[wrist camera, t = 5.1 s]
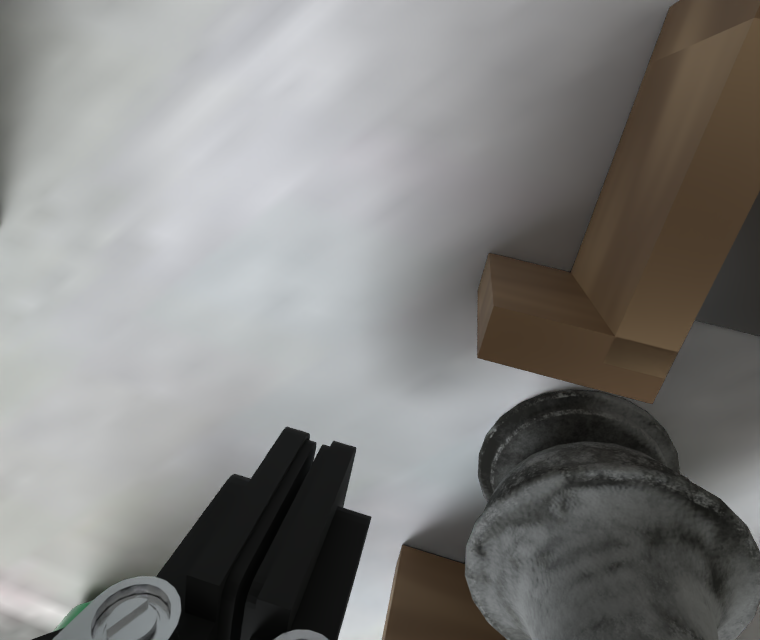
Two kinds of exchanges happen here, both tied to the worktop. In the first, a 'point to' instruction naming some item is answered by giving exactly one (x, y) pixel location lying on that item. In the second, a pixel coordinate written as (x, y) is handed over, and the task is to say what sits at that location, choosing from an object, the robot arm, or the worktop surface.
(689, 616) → the stone chess piece
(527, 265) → the wooden zigzag wall frame
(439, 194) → the worktop surface
